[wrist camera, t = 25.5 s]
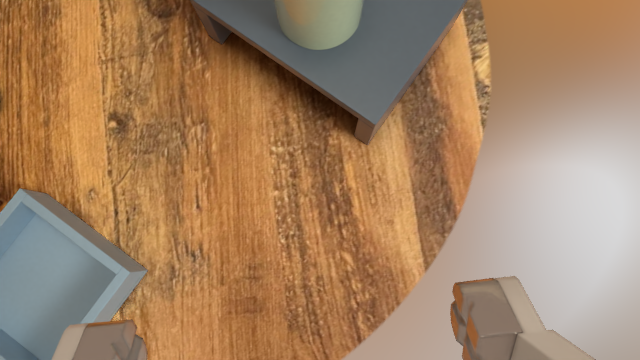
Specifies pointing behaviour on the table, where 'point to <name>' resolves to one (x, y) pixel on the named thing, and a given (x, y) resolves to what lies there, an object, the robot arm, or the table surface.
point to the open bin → (54, 275)
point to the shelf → (346, 50)
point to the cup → (318, 21)
